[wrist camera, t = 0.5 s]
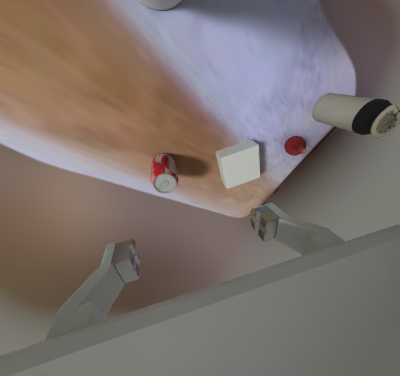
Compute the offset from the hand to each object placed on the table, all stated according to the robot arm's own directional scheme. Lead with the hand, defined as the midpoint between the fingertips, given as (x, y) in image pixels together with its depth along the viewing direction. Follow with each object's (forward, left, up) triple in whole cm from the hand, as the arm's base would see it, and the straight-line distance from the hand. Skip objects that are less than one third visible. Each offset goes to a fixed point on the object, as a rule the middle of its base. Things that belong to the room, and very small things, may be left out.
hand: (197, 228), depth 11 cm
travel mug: (-4, +48, -40) cm, 63 cm away
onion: (+7, +40, -40) cm, 57 cm away
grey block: (+14, +22, -40) cm, 48 cm away
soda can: (+14, -2, -40) cm, 42 cm away
